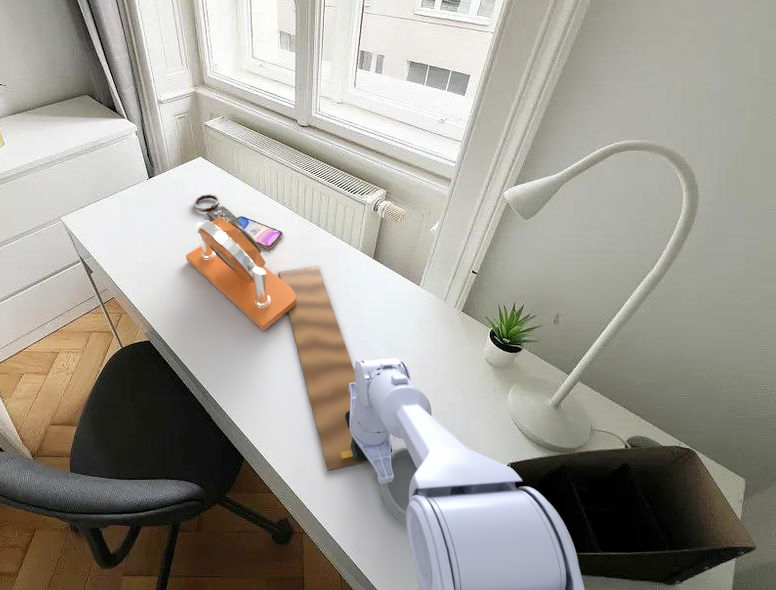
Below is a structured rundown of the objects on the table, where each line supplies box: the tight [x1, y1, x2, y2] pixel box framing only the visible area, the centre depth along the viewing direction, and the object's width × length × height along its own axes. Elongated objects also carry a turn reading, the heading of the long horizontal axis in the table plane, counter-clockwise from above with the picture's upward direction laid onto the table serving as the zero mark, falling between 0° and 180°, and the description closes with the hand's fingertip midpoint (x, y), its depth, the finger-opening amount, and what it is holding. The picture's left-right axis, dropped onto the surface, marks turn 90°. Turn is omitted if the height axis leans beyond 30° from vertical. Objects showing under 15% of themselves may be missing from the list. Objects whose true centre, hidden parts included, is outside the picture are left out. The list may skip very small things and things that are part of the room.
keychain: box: [193, 193, 242, 226], centre depth 120 cm, size 8×19×2 cm, turn 36°
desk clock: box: [185, 217, 296, 332], centre depth 94 cm, size 12×30×20 cm, turn 43°
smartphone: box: [236, 215, 284, 250], centre depth 113 cm, size 8×15×1 cm, turn 58°
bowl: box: [379, 446, 417, 526], centre depth 64 cm, size 10×10×4 cm
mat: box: [278, 266, 370, 471], centre depth 85 cm, size 45×10×1 cm, turn 10°
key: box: [340, 437, 359, 461], centre depth 68 cm, size 6×2×4 cm, turn 100°
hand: (363, 449), depth 69 cm, fingers closed on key, 2 cm apart
